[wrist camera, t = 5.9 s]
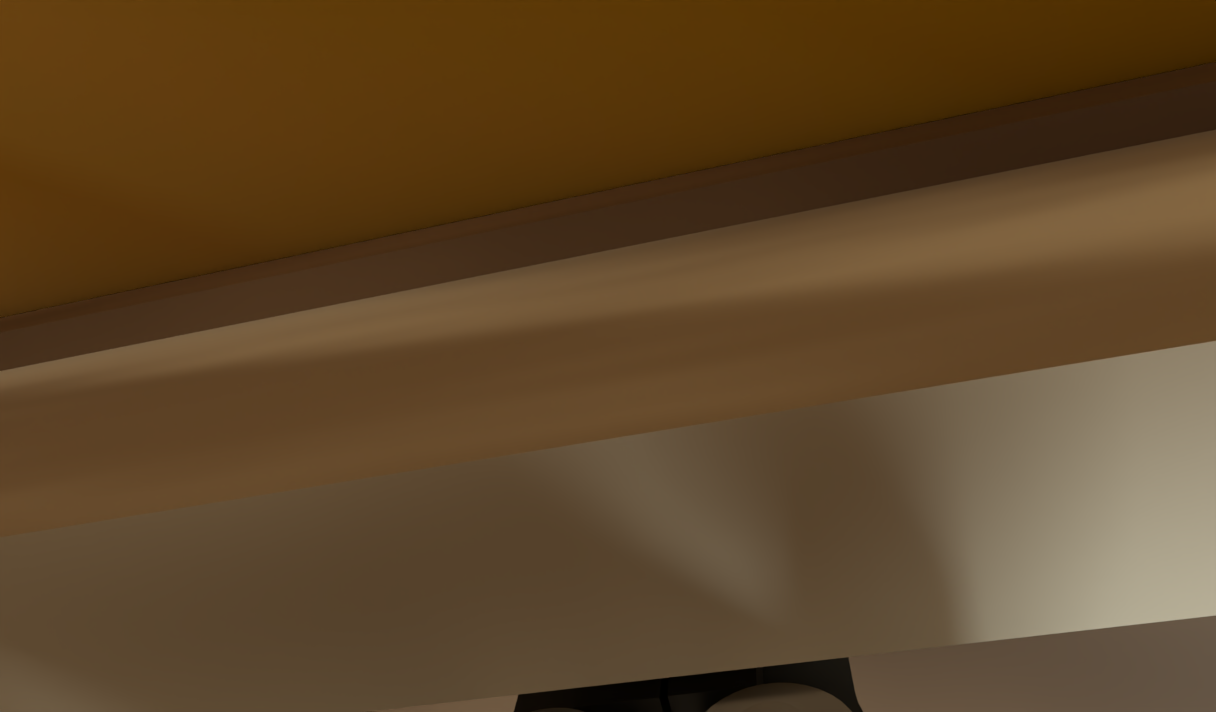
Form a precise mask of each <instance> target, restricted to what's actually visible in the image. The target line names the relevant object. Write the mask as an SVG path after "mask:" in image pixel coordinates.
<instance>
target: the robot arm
mask: <svg viewBox="0 0 1216 712" xmlns="http://www.w3.org/2000/svg"><path fill="white" fill-rule="evenodd" d="M514 712H863V710H862V709H861V707H860V705H859V703H858V700H857V697H856V694H855V690H854V684H853V679H852V673H851V668H850V663H849V657H845V658H836V659H827V660H818V661H810V662H801V663H792V664H783V665H774V666H765V667H757V668H748V669H739V670H730V671H721V672H713V673H704V674H695V675H686V676H677V677H668V678H660V679H651V680H642V681H633V682H624V683H615V684H607V685H598V686H589V687H580V688H571V689H563V690H554V691H545V692H536V693H527V694H518V698H517V701H516V705H515V709H514Z"/></svg>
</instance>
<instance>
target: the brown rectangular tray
mask: <svg viewBox="0 0 1216 712" xmlns="http://www.w3.org/2000/svg"><path fill="white" fill-rule="evenodd" d="M845 657H849V663H850V668H851V673H852V679H853V684H854V690H855V694H856V697H857V700H858V703H859V705H860V707H861V709H862V710H863V712H1216V62H1213V63H1209V64H1204V65H1199V66H1194V67H1190V68H1185V69H1180V70H1175V71H1171V72H1166V73H1161V74H1156V75H1152V76H1147V77H1142V78H1137V79H1133V80H1128V81H1123V82H1118V83H1114V84H1109V85H1104V86H1099V87H1095V88H1090V89H1085V90H1080V91H1076V92H1071V93H1066V94H1061V95H1057V96H1052V97H1047V98H1042V99H1038V100H1033V101H1028V102H1023V103H1019V104H1014V105H1009V106H1004V107H1000V108H995V109H990V110H985V111H981V112H976V113H971V114H966V115H962V116H957V117H952V118H947V119H943V120H938V121H933V122H928V123H924V124H919V125H914V126H909V127H905V128H900V129H895V130H890V131H886V132H881V133H876V134H871V135H867V136H862V137H857V138H852V139H848V140H843V141H838V142H833V143H829V144H824V145H819V146H814V147H810V148H805V149H800V150H795V151H791V152H786V153H781V154H776V155H772V156H767V157H762V158H757V159H753V160H748V161H743V162H738V163H734V164H729V165H724V166H719V167H715V168H710V169H705V170H700V171H696V172H691V173H686V174H681V175H677V176H672V177H667V178H662V179H658V180H653V181H648V182H643V183H639V184H634V185H629V186H624V187H620V188H615V189H610V190H605V191H601V192H596V193H591V194H586V195H582V196H577V197H572V198H567V199H563V200H558V201H553V202H548V203H544V204H539V205H534V206H529V207H525V208H520V209H515V210H510V211H506V212H501V213H496V214H491V215H487V216H482V217H477V218H472V219H468V220H463V221H458V222H453V223H449V224H444V225H439V226H434V227H430V228H425V229H420V230H415V231H411V232H406V233H401V234H396V235H392V236H387V237H382V238H377V239H373V240H368V241H363V242H358V243H354V244H349V245H344V246H339V247H335V248H330V249H325V250H320V251H316V252H311V253H306V254H301V255H297V256H292V257H287V258H282V259H278V260H273V261H268V262H263V263H259V264H254V265H249V266H244V267H240V268H235V269H230V270H225V271H221V272H216V273H211V274H206V275H202V276H197V277H192V278H187V279H183V280H178V281H173V282H168V283H164V284H159V285H154V286H149V287H145V288H140V289H135V290H130V291H126V292H121V293H116V294H111V295H107V296H102V297H97V298H92V299H88V300H83V301H78V302H73V303H69V304H64V305H59V306H54V307H50V308H45V309H40V310H35V311H31V312H26V313H21V314H16V315H12V316H7V317H2V318H0V712H514V709H515V705H516V701H517V698H518V694H527V693H536V692H545V691H554V690H563V689H571V688H580V687H589V686H598V685H607V684H615V683H624V682H633V681H642V680H651V679H660V678H668V677H677V676H686V675H695V674H704V673H713V672H721V671H730V670H739V669H748V668H757V667H765V666H774V665H783V664H792V663H801V662H810V661H818V660H827V659H836V658H845Z"/></svg>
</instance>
